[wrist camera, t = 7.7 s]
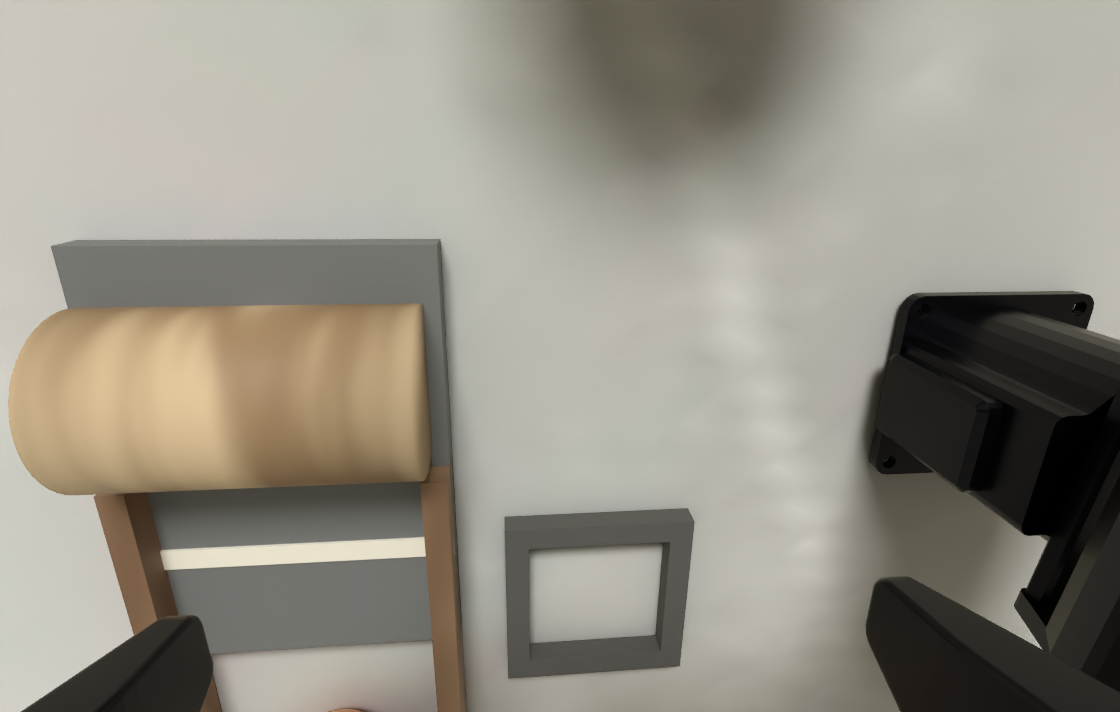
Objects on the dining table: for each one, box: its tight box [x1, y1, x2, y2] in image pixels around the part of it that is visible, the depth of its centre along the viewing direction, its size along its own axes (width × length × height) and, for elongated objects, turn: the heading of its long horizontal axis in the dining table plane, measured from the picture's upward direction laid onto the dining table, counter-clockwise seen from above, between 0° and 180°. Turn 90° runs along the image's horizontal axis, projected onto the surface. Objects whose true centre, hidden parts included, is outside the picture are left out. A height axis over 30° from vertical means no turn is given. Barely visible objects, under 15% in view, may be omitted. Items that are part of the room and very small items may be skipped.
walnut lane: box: [94, 454, 467, 712], centre depth 20 cm, size 11×15×3 cm
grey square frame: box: [505, 508, 694, 679], centre depth 22 cm, size 7×7×1 cm
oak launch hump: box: [8, 303, 432, 495], centre depth 16 cm, size 9×5×5 cm, turn 89°
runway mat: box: [51, 239, 461, 654], centre depth 19 cm, size 10×14×1 cm
